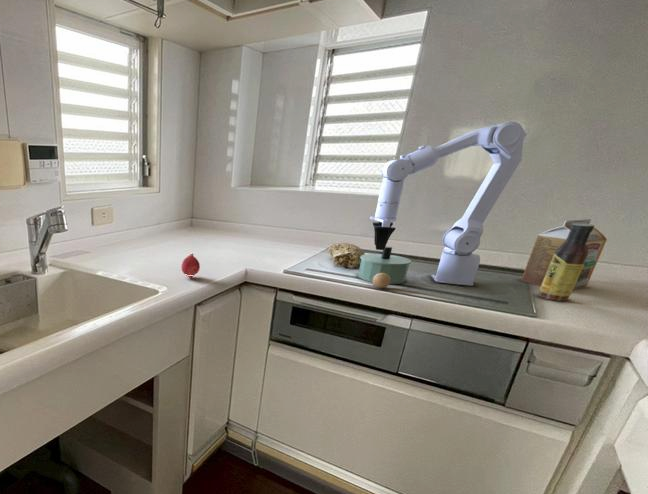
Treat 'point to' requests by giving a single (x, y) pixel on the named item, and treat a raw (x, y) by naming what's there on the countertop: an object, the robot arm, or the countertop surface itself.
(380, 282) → the orange brown ball
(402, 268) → the green faceted bin
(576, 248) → the sauce bottle
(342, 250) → the tan brown irregular lump
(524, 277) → the milk carton
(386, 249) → the bin lid
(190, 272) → the onion
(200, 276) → the countertop surface
